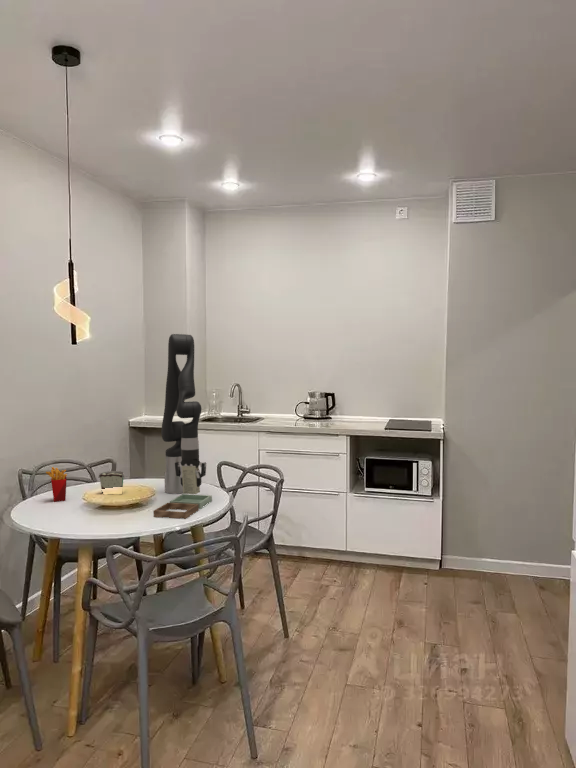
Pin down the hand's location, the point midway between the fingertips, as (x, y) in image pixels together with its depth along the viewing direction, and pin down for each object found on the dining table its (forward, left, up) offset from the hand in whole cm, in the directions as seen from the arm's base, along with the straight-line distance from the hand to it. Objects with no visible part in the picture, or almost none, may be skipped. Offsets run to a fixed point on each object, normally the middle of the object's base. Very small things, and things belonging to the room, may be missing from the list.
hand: (191, 486), depth 260 cm
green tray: (0, 0, -8) cm, 8 cm away
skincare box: (0, 0, -3) cm, 3 cm away
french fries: (-62, -6, -8) cm, 63 cm away
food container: (-44, +12, -8) cm, 47 cm away
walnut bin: (0, -15, -8) cm, 17 cm away
